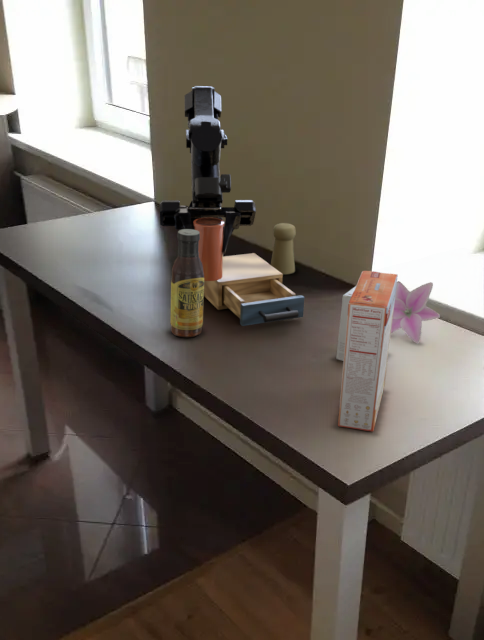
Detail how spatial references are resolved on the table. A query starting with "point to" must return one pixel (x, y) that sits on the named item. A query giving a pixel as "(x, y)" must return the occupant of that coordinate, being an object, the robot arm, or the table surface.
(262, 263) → the cabinet
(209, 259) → the cup
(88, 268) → the table surface
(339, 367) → the table surface
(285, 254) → the cork
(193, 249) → the sauce bottle
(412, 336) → the lily
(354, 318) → the cracker box
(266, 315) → the drawer
